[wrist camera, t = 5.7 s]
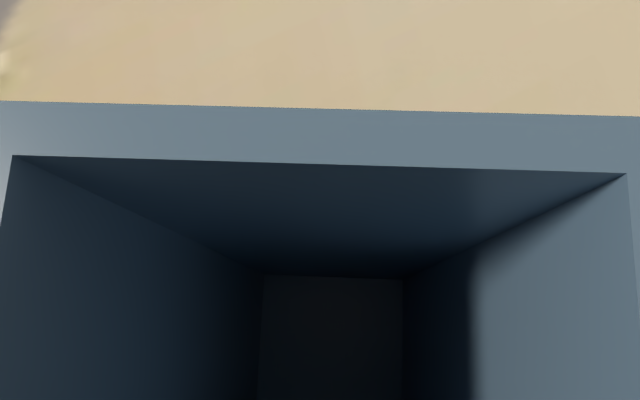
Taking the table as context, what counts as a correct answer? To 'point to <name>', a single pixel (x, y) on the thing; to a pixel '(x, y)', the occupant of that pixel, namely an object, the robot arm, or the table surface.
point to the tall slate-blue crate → (317, 254)
